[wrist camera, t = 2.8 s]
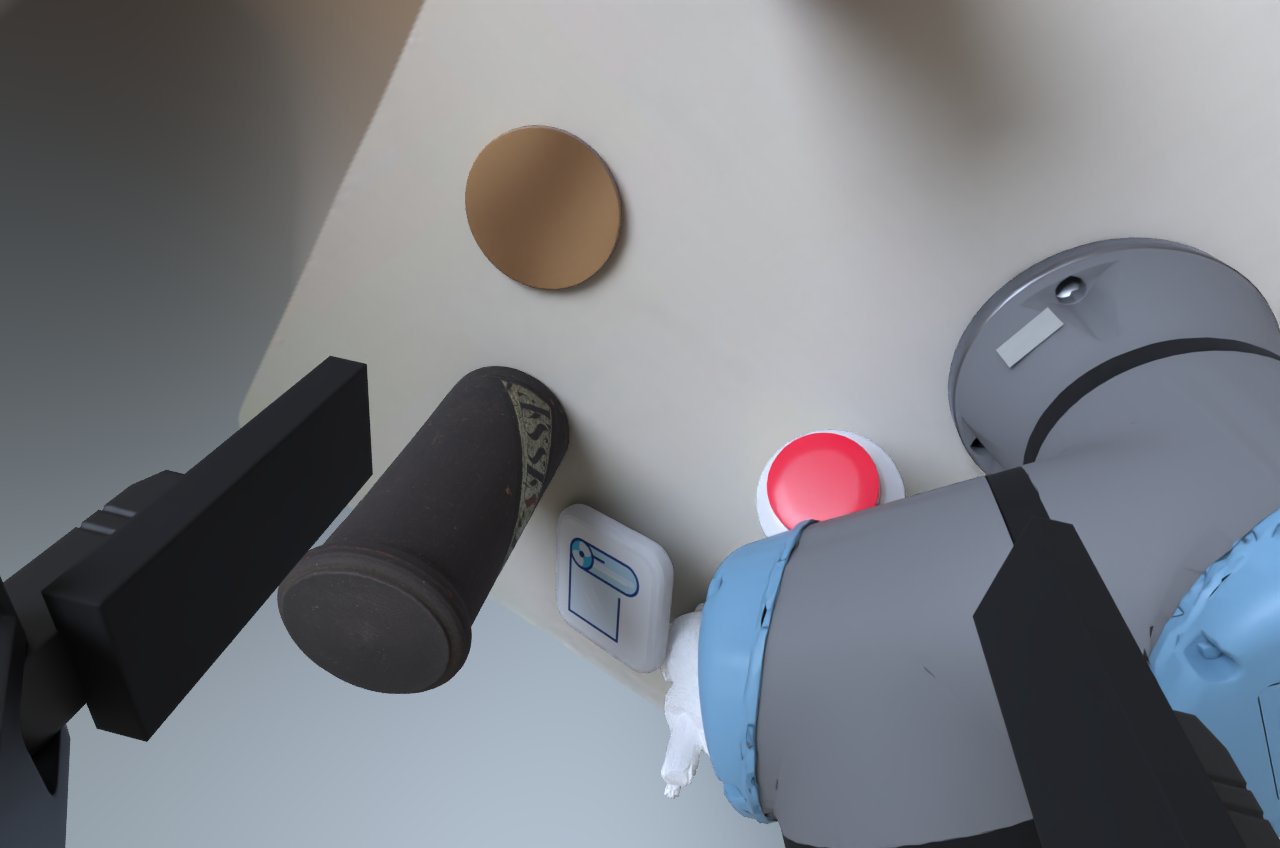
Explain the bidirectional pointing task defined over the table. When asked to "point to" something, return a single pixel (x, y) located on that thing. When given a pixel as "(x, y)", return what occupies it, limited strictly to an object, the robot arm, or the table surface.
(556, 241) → the coaster
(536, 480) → the container
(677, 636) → the koala figurine
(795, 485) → the pill bottle
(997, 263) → the table surface
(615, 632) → the button
